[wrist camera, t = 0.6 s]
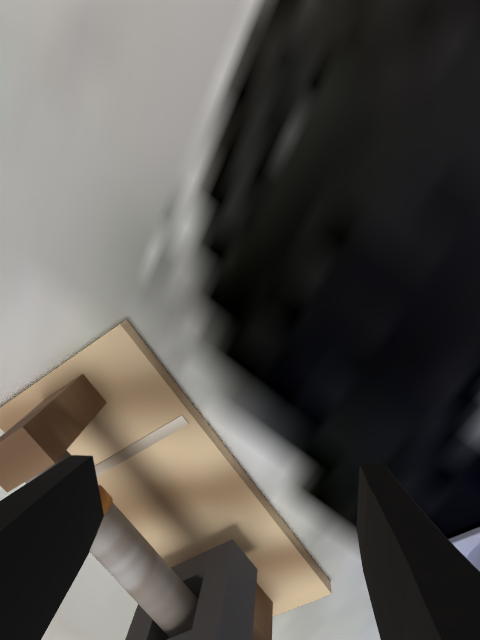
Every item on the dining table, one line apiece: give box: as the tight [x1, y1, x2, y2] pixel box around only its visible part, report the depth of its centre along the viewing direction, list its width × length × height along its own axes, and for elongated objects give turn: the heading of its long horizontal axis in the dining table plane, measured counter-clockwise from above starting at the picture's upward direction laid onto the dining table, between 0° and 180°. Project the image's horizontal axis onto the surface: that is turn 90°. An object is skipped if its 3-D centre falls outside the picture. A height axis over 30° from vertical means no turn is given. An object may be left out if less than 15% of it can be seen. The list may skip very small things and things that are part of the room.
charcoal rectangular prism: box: [125, 539, 258, 640], centre depth 19 cm, size 2×6×7 cm, turn 125°
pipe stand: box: [0, 320, 332, 640], centre depth 21 cm, size 20×10×6 cm, turn 35°
